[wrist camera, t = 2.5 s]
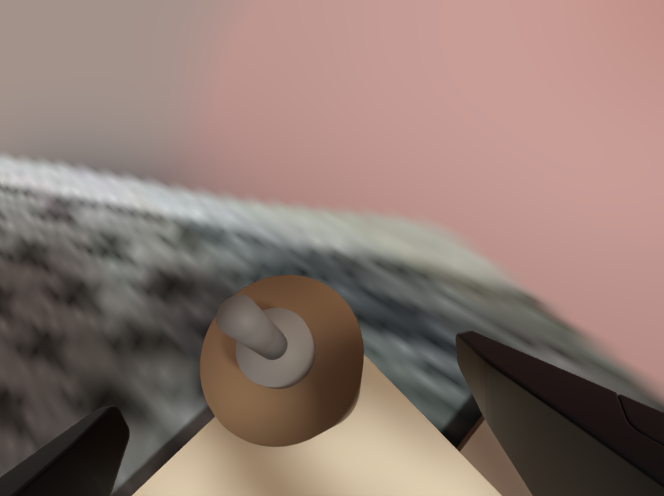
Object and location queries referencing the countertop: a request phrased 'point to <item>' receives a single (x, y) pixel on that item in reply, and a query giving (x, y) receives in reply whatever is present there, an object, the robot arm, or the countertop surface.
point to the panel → (345, 457)
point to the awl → (282, 361)
